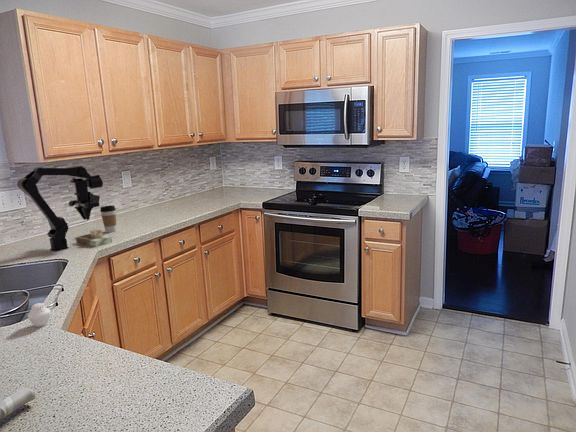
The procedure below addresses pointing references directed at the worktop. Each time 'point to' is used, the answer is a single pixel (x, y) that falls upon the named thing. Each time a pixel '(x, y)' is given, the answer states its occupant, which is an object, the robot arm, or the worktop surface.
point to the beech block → (96, 233)
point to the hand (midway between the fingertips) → (86, 219)
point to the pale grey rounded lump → (39, 314)
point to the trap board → (93, 240)
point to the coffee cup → (109, 218)
